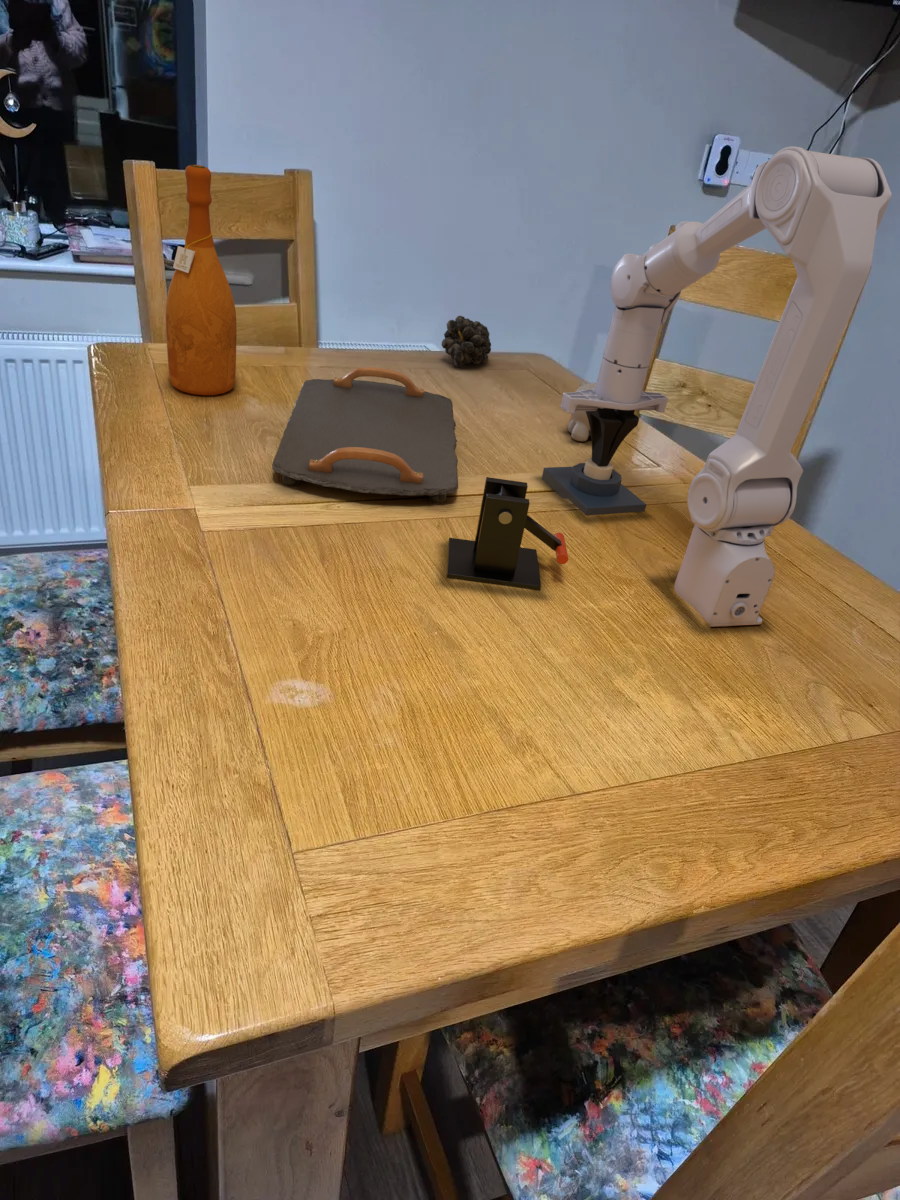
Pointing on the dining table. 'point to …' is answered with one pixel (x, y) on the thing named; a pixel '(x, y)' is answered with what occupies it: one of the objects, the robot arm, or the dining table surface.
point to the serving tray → (370, 437)
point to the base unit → (592, 491)
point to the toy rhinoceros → (580, 418)
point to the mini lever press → (497, 542)
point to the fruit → (466, 341)
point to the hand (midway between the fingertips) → (599, 463)
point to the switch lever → (542, 533)
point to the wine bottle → (200, 303)
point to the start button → (597, 470)
